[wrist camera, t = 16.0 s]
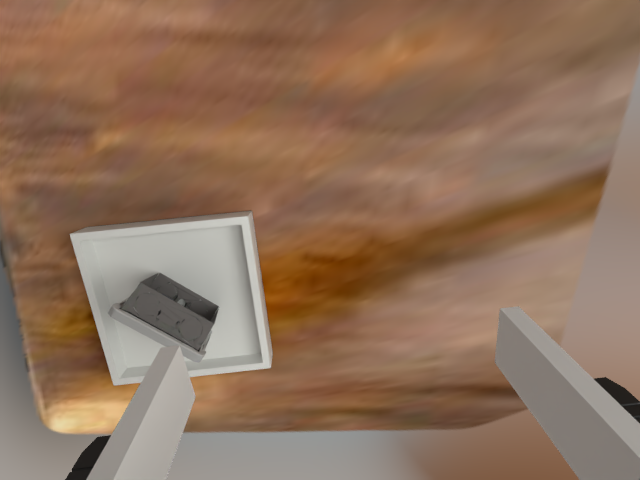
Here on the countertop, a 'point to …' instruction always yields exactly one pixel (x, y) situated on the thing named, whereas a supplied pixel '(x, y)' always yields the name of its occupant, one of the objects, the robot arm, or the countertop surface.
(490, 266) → the countertop surface
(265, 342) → the white square tray
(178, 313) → the electrical switch
